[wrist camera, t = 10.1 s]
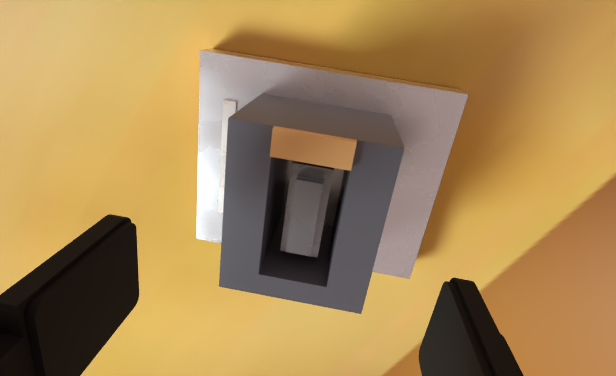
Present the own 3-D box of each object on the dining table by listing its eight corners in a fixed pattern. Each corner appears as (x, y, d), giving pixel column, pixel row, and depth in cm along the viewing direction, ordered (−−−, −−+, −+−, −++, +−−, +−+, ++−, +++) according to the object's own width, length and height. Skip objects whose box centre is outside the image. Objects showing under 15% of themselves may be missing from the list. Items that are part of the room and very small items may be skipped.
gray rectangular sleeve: (359, 247, 20) (361, 319, 15) (249, 227, 20) (216, 291, 15) (391, 115, 17) (406, 150, 12) (261, 93, 17) (225, 120, 12)
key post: (406, 262, 22) (424, 344, 16) (205, 225, 22) (156, 292, 17) (459, 89, 17) (508, 118, 12) (212, 48, 18) (148, 58, 12)
